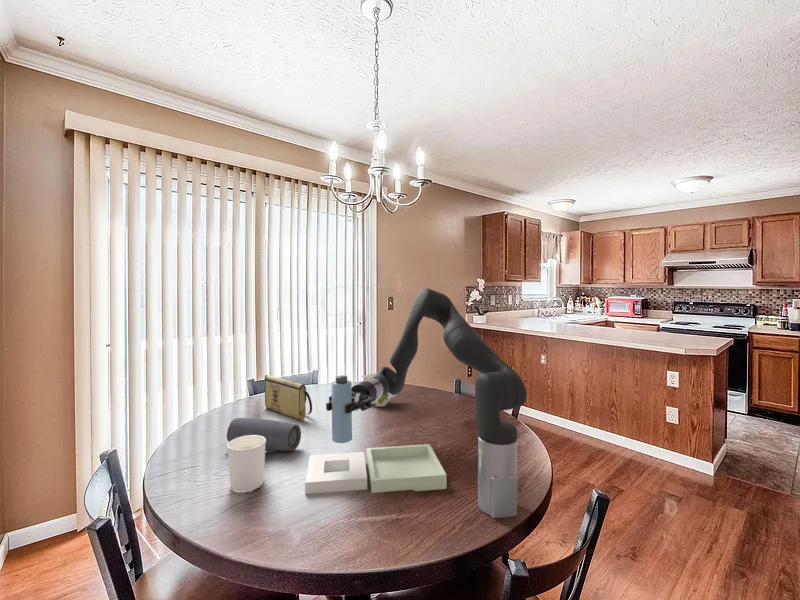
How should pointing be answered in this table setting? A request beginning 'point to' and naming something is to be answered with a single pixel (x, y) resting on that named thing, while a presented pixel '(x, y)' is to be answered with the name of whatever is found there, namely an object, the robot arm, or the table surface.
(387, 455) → the tray
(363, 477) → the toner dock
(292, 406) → the clutch purse
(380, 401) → the pitcher
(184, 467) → the table surface
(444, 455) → the table surface
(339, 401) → the bottle
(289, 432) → the bluetooth speaker
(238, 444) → the candle holder
